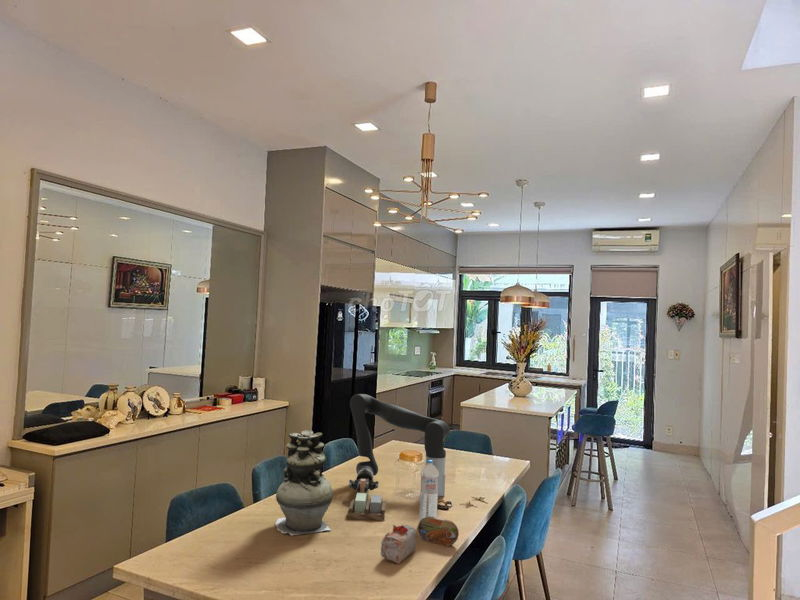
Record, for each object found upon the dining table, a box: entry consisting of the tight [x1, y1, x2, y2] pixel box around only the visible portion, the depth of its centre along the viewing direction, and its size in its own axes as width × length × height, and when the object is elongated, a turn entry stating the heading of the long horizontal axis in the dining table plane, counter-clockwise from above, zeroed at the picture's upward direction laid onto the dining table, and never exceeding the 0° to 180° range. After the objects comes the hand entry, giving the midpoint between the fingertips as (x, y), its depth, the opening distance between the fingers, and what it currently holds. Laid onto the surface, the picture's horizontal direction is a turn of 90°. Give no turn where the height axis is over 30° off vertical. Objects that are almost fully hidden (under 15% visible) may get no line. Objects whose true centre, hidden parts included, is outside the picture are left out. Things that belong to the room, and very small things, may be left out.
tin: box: [417, 516, 460, 547], centre depth 190 cm, size 15×3×8 cm, turn 62°
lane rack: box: [348, 498, 386, 521], centre depth 215 cm, size 14×12×4 cm
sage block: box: [354, 479, 368, 513], centre depth 220 cm, size 4×16×10 cm, turn 0°
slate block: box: [369, 494, 382, 514], centre depth 216 cm, size 4×9×6 cm, turn 0°
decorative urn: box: [274, 429, 334, 536], centre depth 200 cm, size 21×21×35 cm
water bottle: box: [418, 460, 439, 523], centre depth 206 cm, size 7×7×25 cm
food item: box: [380, 524, 417, 565], centre depth 177 cm, size 14×8×10 cm, turn 154°
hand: (362, 490), depth 224 cm, fingers closed on sage block, 2 cm apart
